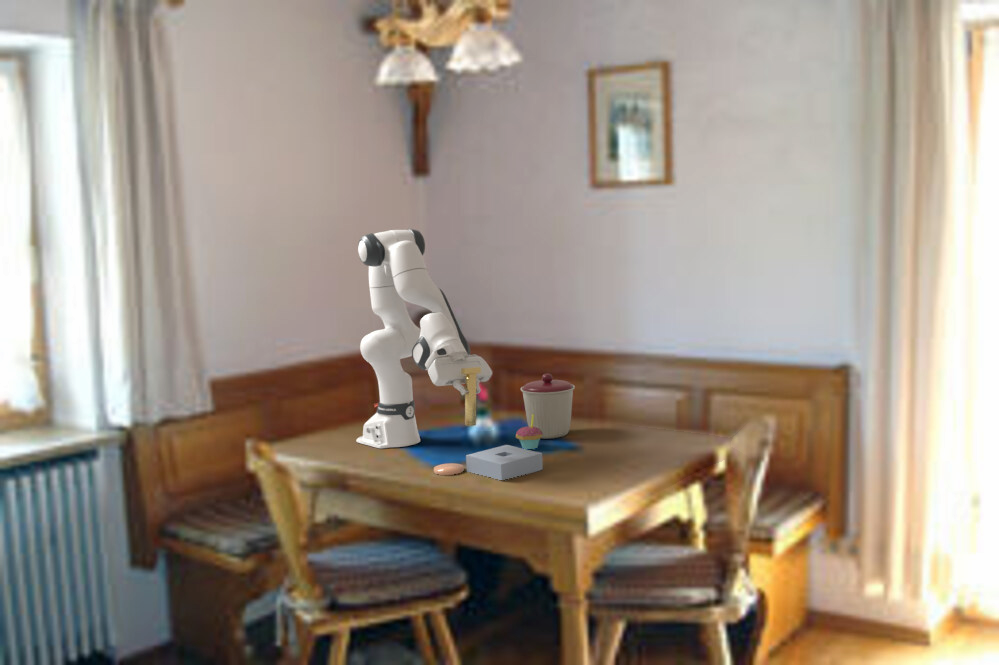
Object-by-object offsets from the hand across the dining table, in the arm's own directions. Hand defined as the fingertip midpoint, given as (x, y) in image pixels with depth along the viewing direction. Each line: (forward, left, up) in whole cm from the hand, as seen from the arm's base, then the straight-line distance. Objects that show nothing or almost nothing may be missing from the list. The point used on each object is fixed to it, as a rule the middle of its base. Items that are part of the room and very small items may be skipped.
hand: (471, 393), depth 303 cm
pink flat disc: (-9, -2, -24) cm, 26 cm away
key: (-1, -1, -9) cm, 9 cm away
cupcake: (-3, +32, -24) cm, 40 cm away
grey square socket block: (+6, +7, -24) cm, 26 cm away
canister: (-7, +49, -24) cm, 55 cm away
